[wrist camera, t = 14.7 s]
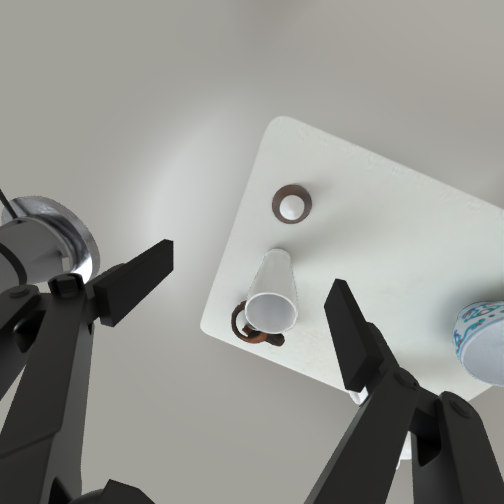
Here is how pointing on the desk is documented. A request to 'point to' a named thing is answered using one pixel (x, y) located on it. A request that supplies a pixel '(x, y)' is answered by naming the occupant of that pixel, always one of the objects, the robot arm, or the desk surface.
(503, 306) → the chinaware
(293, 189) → the coaster
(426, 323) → the desk surface
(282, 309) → the drinking glass
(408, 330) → the desk surface
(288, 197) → the egg
